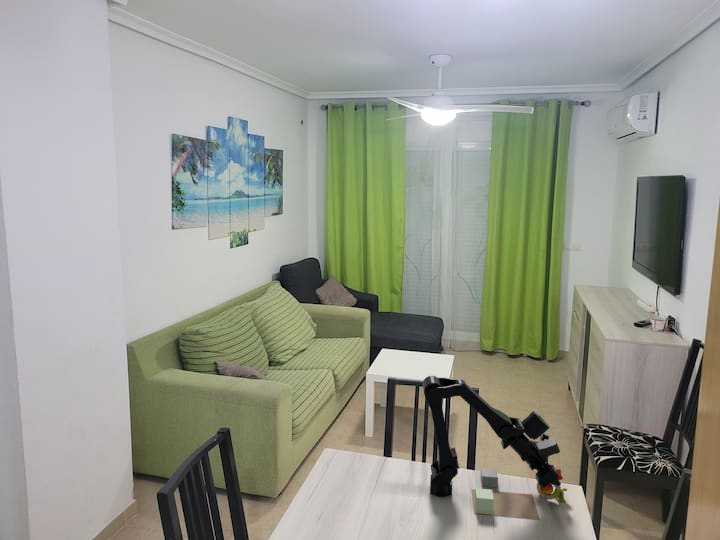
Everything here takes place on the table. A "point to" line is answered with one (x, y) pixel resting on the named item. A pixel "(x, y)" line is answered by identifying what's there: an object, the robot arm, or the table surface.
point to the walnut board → (512, 505)
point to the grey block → (489, 477)
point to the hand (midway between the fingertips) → (557, 481)
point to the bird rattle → (549, 489)
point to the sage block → (484, 501)
